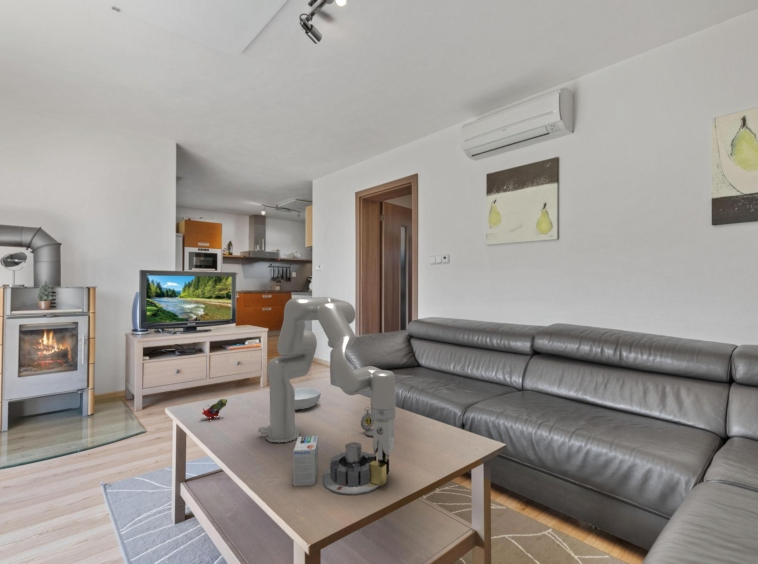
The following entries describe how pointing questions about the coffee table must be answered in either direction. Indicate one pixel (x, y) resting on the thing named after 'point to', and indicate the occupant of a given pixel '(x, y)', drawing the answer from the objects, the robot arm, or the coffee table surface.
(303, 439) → the light bulb box
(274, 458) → the coffee table surface
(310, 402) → the serving bowl
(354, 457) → the spindle plate
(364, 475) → the castellated metal disc
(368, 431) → the pocket watch
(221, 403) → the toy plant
